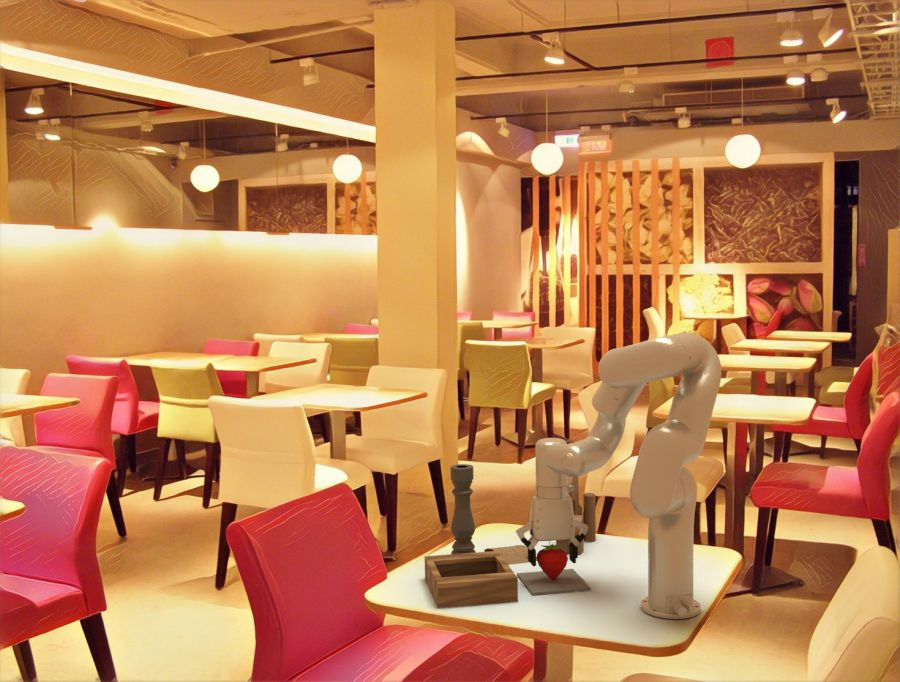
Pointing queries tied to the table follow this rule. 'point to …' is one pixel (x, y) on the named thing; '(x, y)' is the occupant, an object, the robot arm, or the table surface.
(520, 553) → the clay tablet
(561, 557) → the strawberry
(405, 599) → the table surface
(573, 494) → the wooden toy
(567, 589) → the mat
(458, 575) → the wooden box
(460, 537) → the candle holder
